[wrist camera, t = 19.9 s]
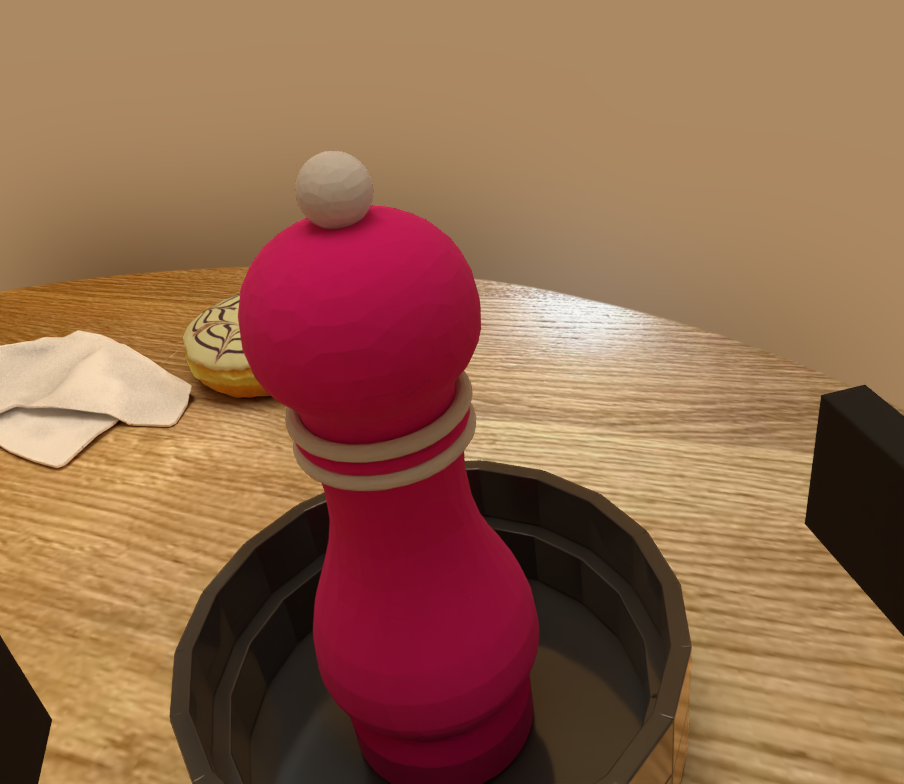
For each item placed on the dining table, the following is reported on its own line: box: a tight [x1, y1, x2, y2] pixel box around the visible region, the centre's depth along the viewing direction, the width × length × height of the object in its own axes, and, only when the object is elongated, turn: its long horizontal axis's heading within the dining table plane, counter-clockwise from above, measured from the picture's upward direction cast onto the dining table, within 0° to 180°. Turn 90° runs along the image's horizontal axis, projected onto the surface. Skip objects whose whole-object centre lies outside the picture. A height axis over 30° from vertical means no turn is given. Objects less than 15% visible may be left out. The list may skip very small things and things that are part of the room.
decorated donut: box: [183, 294, 271, 398], centre depth 53 cm, size 10×11×4 cm
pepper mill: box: [238, 151, 539, 784], centre depth 24 cm, size 7×7×20 cm
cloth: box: [0, 330, 192, 468], centre depth 54 cm, size 26×14×2 cm, turn 69°
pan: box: [170, 460, 692, 784], centre depth 29 cm, size 16×16×6 cm
